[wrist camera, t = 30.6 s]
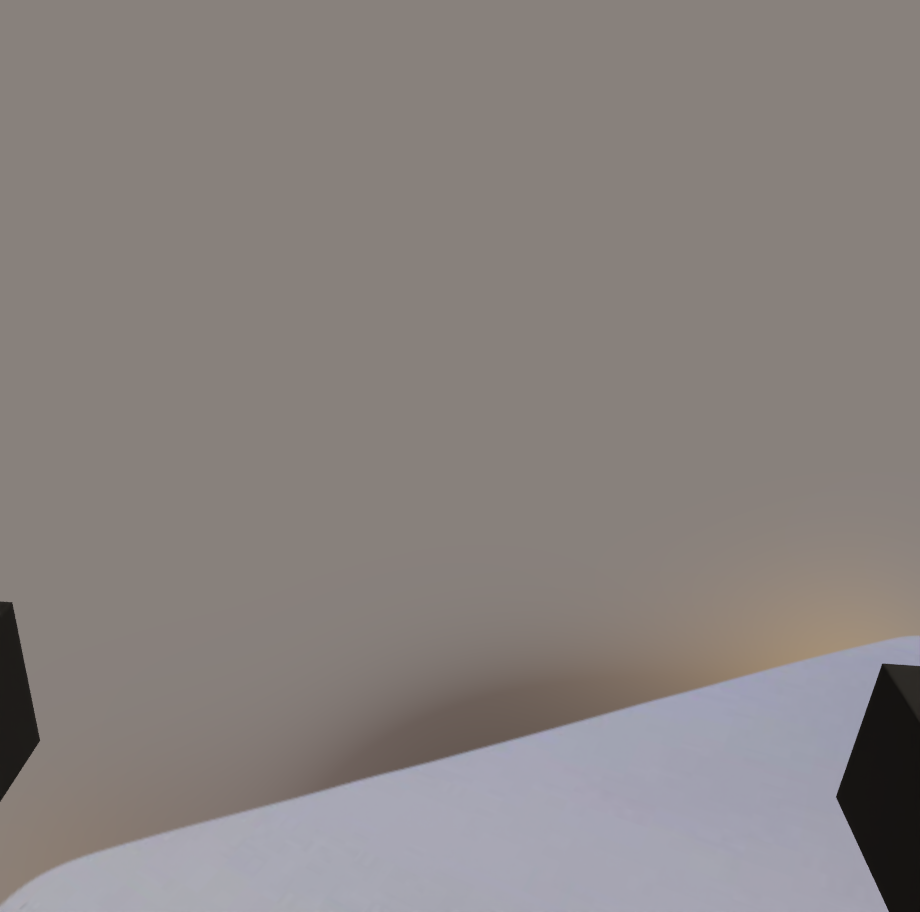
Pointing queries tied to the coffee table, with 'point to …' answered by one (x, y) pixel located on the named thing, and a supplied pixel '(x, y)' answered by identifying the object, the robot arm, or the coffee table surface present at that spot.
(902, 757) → the robot arm
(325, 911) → the coffee table surface
